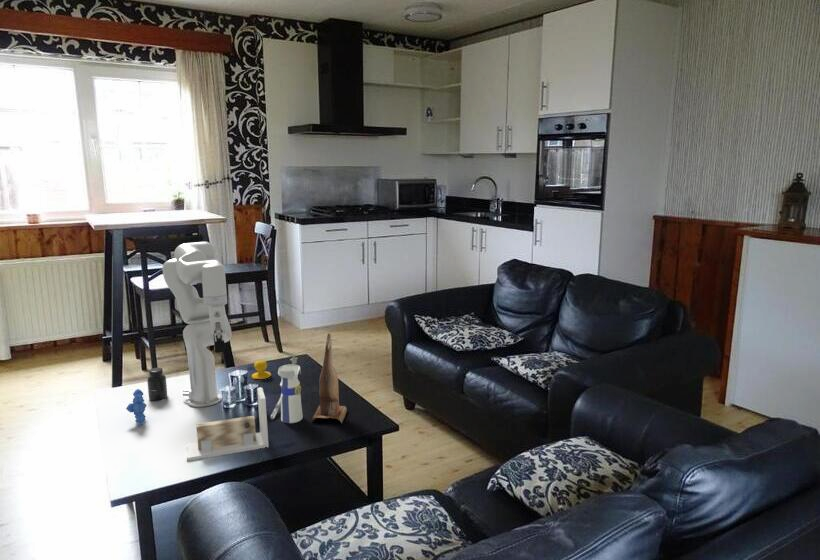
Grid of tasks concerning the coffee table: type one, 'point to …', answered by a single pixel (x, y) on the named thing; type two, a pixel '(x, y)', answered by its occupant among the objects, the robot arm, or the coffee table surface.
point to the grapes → (138, 406)
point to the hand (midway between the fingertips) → (219, 347)
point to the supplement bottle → (157, 385)
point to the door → (226, 431)
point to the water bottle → (290, 392)
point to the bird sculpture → (329, 388)
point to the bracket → (276, 409)
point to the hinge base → (246, 446)
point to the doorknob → (261, 370)
